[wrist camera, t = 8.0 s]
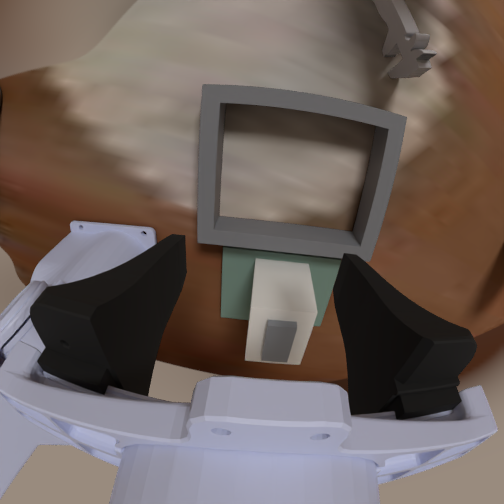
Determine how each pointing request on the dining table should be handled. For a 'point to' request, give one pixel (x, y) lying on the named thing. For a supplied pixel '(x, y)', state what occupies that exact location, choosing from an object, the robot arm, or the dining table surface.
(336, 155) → the dining table surface
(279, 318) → the block
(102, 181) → the dining table surface
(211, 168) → the grey square frame
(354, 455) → the robot arm
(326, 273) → the rubber mat
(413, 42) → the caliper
